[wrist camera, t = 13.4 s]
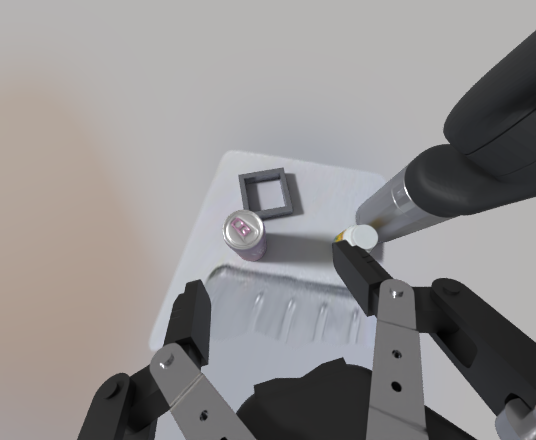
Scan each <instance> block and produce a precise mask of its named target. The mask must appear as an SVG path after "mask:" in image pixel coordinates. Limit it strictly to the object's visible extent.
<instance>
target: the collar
mask: <svg viewBox="0 0 536 440" xmlns="http://www.w3.org/2000/svg"><path fill="white" fill-rule="evenodd" d="M238 176H239V182H240V189H241V195H242V201H243V208H244V210H249V204H248V198H247V192H246V186H245V184H247V183H253V182H259V181H264V180H270V179H276V178H279V180H280V184H281V189H282V194H283V198H284V203H285V207H279V208H274V209H268V210H262V211H256V212H254V213H256V214H257V215H258V216H259V217H260V218H261V219H265V218H271V217H276V216H282V215H288V214H292V211H293V208H292V204H291V199H290V195H289V190H288V186H287V182H286V177H285V173H284V168H278V169H272V170H266V171H260V172H254V173H248V174H242V175H238ZM249 211H250V210H249Z"/></svg>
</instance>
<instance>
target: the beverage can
mask: <svg viewBox="0 0 536 440" xmlns="http://www.w3.org/2000/svg"><path fill="white" fill-rule="evenodd" d="M223 237H224V240H225V242H226V244H227V245H228V246H229V247H230V248H231V249H232V250H234V251H235V252H236V253H237V254H238V255H239V256H240V257H241V258H243V259H244V260H246V261H256V260H259V259H260V258H261V257H262V256H263V255H264V254H265V252H266V248H267V244H266V233H265V226H264V223H263V221H262V219H261V218H260V217H259V216H258V215H257V214H256V213H254V212H252V211H249V210H238V211H236V212H233V213H232V214H230V215H229V216H228V217H227V219H226V220H225V222H224V225H223Z"/></svg>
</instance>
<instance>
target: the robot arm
mask: <svg viewBox="0 0 536 440" xmlns="http://www.w3.org/2000/svg"><path fill="white" fill-rule="evenodd" d="M443 133H444V135H445V138H446V139H447V140H448V142H449V143H450V144H442V145H437V146H434V147H431V148H429V149H427V150H425V151H424V152H422V153H421V154H420V155H419V156H417V157H416V158H415V159H414V160H413V161H412V162H410V163H409V164H408V165H407V166H406V167H405V168H404V169H402V170H401V171H400V172H399V173H398V174H397V175H395V176H394V177H393V178H392V179H391V180H390V181H389V182H387V183H386V184H385V185H384V186H383V187H382V188H380V189H379V190H378V191H377V192H376V193H375V194H373V195H372V196H371V197H370V198H369V199H367V200H366V201H365V202H364V203H363V204H362V205H361V206H360V207H359V208H358V210H357V213H356V224H357V225H369V226H371V227H372V228H374V229H375V231H376V232H377V235H378V242H387V241H391V240H393V239H396V238H399V237H402V236H405V235H408V234H410V233H413V232H416V231H419V230H422V229H424V228H427V227H430V226H433V225H436V224H438V223H441V222H444V221H446V220H449V219H452V218H455V217H457V216H460V215H472V214H476V213H480V212H483V211H486V210H490V209H493V208H497V207H500V206H503V205H507V204H511V203H514V202H518V201H522V200H526V199H529V198H533V197H536V31H535V32H533V33H532V34H531V35H530V36H529V37H528V38H526V39H525V40H524V41H523V42H522V43H521V44H519V45H518V46H517V47H516V48H515V49H514V50H513V51H511V52H510V53H509V54H508V55H507V56H506V57H505V58H503V59H502V60H501V61H500V62H499V63H498V64H497V65H495V66H494V67H493V68H492V69H491V70H490V71H489V72H488V73H486V75H484V77H482V78H481V79H480V80H479V81H478V82H477V83H476V84H475V85H474V86H473V87H472V88H471V89H470V90H469V91H468V92H467V93H466V94H465V95H464V96H463V97H462V98H461V99H460V100H459V102H458V103H457V104H456V105H455V107H454V108H453V109H452V111H451V112H450V114H449V115H448V117H447V119H446V122H445V124H444V130H443ZM332 248H333V263H334V267H335V269H336V271H337V273H338V275H339V276H340V277H341V279H342V280H343V282H344V283H345V285H346V286H347V288H348V289H349V291H350V292H351V294H352V295H353V297H354V298H355V299H356V301H357V302H358V304H359V305H360V307H361V308H362V310H363V311H364V313H365V314H366V316H367V317H369V316H372V315H375V317H376V318H377V326H376V336H375V347H374V359H373V371H371V370H369V369H367V368H364V367H362V366H358V365H351V364H346V362H345V360H344V358H343V357H342V358H339V359H336V360H333V361H330V362H326V363H323V364H321V365H319V366H318V367H316V368H315V369H314V370H312V371H311V372H309V373H308V374H306V375H305V376H303V377H301V378H275V379H272V380H269V381H266V382H263V383H260V384H256V385H254V391H255V393H254V394H253V395H251V396H250V397H249V398H248V399H247V400H246V401H245V402H244V403H243V404H242V405H241V407H240V408H239V410H238V411H237V413H236V414H235V413H234V411H233V410H232V409H231V407H230V406H229V405H228V404H227V402H226V401H225V400H224V399H223V398H222V396H221V395H220V394H219V393H218V391H217V390H216V389H215V388H214V387H213V385H212V384H211V383H210V381H209V380H208V379H207V378H206V376H205V375H204V374H203V373H201V367H202V366H205V365H208V357H209V340H210V322H211V301H210V298H209V295H208V293H207V291H206V289H205V287H204V285H203V283H202V281H201V280H200V279H199V280H195V281H192V282H188V283H186V287H185V292H184V293H183V294H179V295H178V297H177V299H176V300H175V302H174V304H173V308H172V313H171V316H170V320H169V324H168V328H167V332H166V336H165V340H164V345H163V347H162V348H161V349H160V350H158V351H157V353H156V354H155V355H154V357H153V358H152V360H151V363H150V364H149V365H148V366H147V367H145V368H143V369H142V370H140V371H138V372H137V373H135V374H133V375H132V376H130V377H129V376H128V375H127V374H125V373H119V374H116V375H114V376H112V377H110V378H109V379H108V380H107V381H105V382H104V383H103V384H102V386H101V387H100V388H99V389H98V391H97V392H96V394H95V396H94V398H93V400H92V403H91V405H90V408H89V410H88V413H87V416H86V418H85V421H84V423H83V426H82V428H81V431H80V433H79V436H78V439H77V440H154V438H155V432H156V425H157V419H158V417H160V416H161V415H163V414H164V413H165V412H167V411H168V410H170V412H171V414H172V415H173V417H174V419H175V421H176V423H177V424H178V426H179V428H180V430H181V431H182V433H183V435H184V437H185V439H186V440H477V439H475V438H474V437H472V436H471V435H469V434H468V433H466V432H465V431H463V430H462V429H460V428H458V427H457V426H456V425H454V424H453V423H451V422H450V421H448V420H447V419H445V418H444V417H442V416H441V415H439V414H438V413H436V412H435V411H433V410H431V409H430V408H428V407H427V406H425V405H424V394H423V380H422V367H421V352H420V337H419V333H429V335H430V336H431V337H432V338H433V339H434V341H435V342H436V343H437V344H438V346H439V347H440V348H441V349H442V350H443V352H444V353H445V354H446V355H447V356H448V358H449V359H450V360H451V361H452V363H453V364H454V365H455V366H456V368H457V369H458V370H459V371H460V372H461V374H462V375H463V376H464V377H465V379H466V380H467V381H468V382H469V383H470V385H471V386H472V387H473V388H474V389H475V391H476V392H477V393H478V394H479V396H480V397H481V398H482V399H483V400H484V402H485V403H486V404H487V405H488V406H489V408H490V409H491V410H492V411H493V413H494V414H495V415H496V416H497V418H496V420H495V427H496V431H497V434H498V436H499V437H500V439H501V440H536V342H534V341H533V340H532V339H531V338H529V337H528V336H527V335H526V334H524V333H523V332H522V331H521V330H519V329H518V328H517V327H516V326H515V325H513V324H512V323H511V322H510V321H508V320H507V319H506V318H505V317H503V316H502V315H501V314H500V313H498V312H497V311H496V310H495V309H494V308H492V307H491V306H490V305H489V304H487V303H486V302H485V301H484V300H483V299H481V298H480V297H479V296H478V295H476V294H475V293H474V292H472V291H471V290H470V289H469V288H468V287H466V286H465V285H464V284H462V283H460V282H458V281H456V280H453V279H448V278H439V279H436V280H434V281H433V283H432V286H431V287H411V286H410V285H408V284H407V283H405V282H403V281H401V280H397V279H393V278H392V277H391V276H390V275H389V274H388V273H387V272H386V271H385V270H384V269H383V268H382V267H381V266H380V264H379V263H378V262H377V261H375V259H374V258H373V257H372V256H370V254H369V253H368V252H367V251H366V250H365V249H363V248H361V247H359V246H357V245H355V246H351V245H350V243H349V242H348V241H347V240H341V241H337V242H334V243H333V244H332Z"/></svg>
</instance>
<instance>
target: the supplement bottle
mask: <svg viewBox="0 0 536 440" xmlns="http://www.w3.org/2000/svg"><path fill="white" fill-rule="evenodd" d="M341 240H347V241H348V242H349V243H350V245H351V246H355V245H357V246H359V247H361V248H363V249H365V250H366V251H367V252H368V253H369V252H370V251H371V250H372V249H373V247H374V246H375V245H376V244H377V242H378V235H377V232H376V231H375V229H374V228H372V227H371V226H369V225H353V226H351V227H349V228H347V229H346V230H345V231H343V232H342V233H340V234H339V235H338V236H336V238H335V239H334V242H337V241H341ZM334 242H333V243H334Z"/></svg>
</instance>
